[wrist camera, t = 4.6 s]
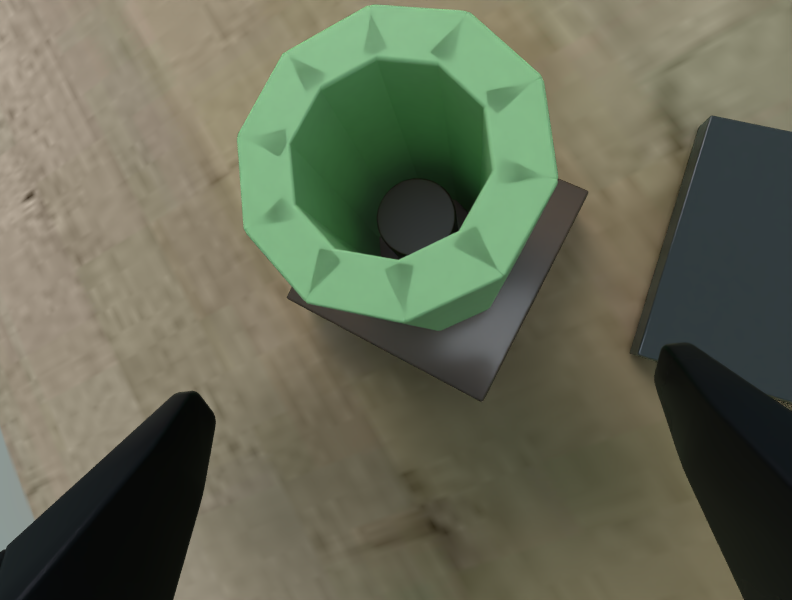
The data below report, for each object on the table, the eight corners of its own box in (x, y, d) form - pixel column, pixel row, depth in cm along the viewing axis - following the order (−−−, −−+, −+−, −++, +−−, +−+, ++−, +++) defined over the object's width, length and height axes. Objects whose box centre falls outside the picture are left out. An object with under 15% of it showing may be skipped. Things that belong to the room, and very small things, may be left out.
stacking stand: (481, 394, 19) (485, 425, 13) (307, 302, 21) (226, 285, 14) (575, 209, 19) (630, 138, 13) (393, 132, 21) (354, 32, 14)
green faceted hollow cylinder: (501, 152, 18) (527, -35, 9) (524, 321, 17) (578, 302, 8) (344, 179, 19) (228, 36, 10) (360, 339, 18) (250, 340, 9)
